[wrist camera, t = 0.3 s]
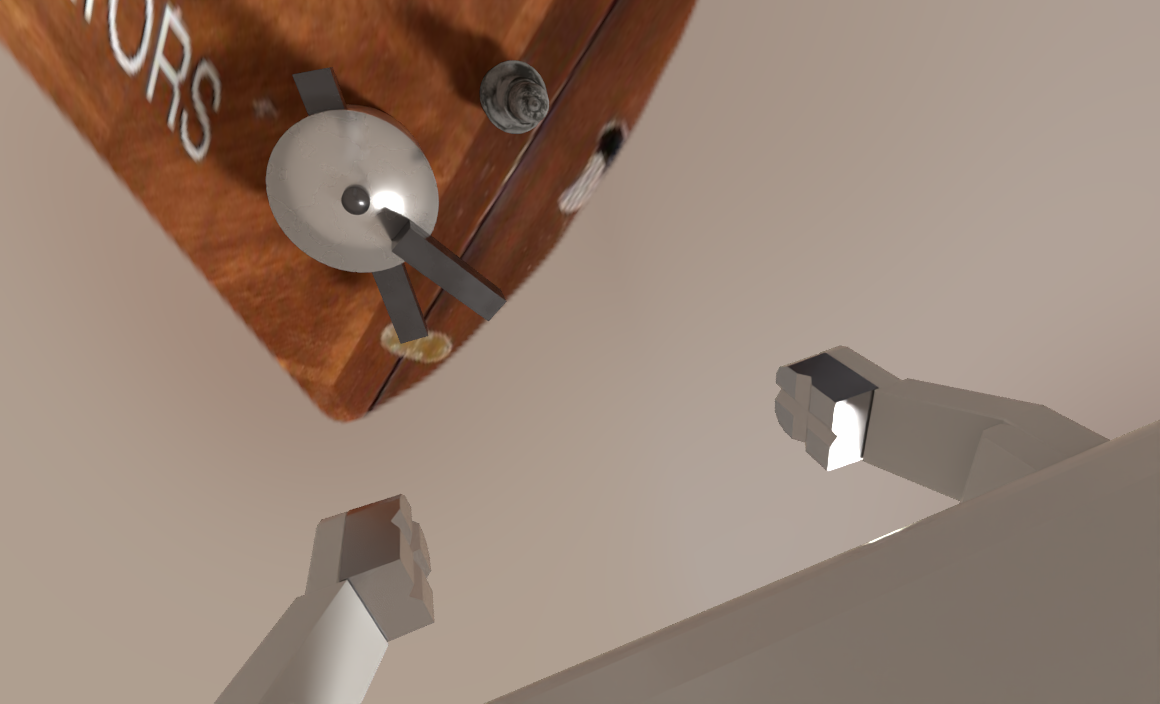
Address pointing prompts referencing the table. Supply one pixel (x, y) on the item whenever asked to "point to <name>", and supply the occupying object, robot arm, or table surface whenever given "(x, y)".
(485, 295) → the lid
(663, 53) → the table surface
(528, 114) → the grey round vessel
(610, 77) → the table surface
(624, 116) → the table surface
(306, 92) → the pot
